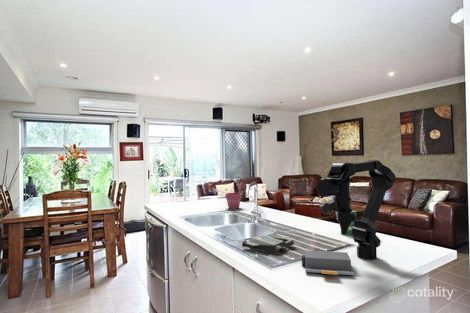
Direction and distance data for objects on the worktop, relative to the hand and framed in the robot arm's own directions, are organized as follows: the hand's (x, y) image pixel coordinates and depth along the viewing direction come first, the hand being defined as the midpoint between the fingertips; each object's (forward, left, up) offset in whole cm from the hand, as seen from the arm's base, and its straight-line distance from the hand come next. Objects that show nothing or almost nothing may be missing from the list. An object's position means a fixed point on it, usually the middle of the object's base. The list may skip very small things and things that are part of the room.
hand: (343, 234), depth 104 cm
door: (+7, +9, -11) cm, 16 cm away
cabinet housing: (+7, +4, -12) cm, 14 cm away
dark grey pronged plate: (+30, -15, -12) cm, 36 cm away
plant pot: (+73, -115, -12) cm, 137 cm away
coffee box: (-9, -44, -12) cm, 47 cm away
